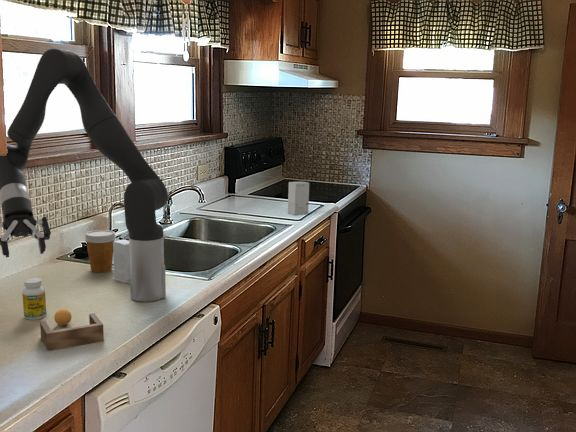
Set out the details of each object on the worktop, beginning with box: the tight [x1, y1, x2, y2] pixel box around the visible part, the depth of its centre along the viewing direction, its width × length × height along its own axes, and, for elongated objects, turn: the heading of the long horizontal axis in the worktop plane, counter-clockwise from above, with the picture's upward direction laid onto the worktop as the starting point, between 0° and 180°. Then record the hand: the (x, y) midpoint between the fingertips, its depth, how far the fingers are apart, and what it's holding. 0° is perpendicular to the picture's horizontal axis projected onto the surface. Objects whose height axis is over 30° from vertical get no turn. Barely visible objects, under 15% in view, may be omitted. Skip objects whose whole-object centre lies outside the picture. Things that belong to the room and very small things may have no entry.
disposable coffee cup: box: [83, 229, 117, 273], centre depth 201 cm, size 10×10×12 cm
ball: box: [53, 308, 72, 327], centre depth 156 cm, size 4×4×4 cm
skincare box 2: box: [287, 181, 310, 216], centre depth 296 cm, size 8×6×15 cm
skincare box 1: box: [113, 239, 130, 284], centre depth 191 cm, size 6×4×12 cm
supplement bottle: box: [21, 277, 47, 321], centre depth 161 cm, size 5×5×10 cm
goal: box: [39, 313, 105, 352], centre depth 148 cm, size 12×8×4 cm, turn 121°
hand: (25, 254), depth 168 cm, fingers open, 8 cm apart
